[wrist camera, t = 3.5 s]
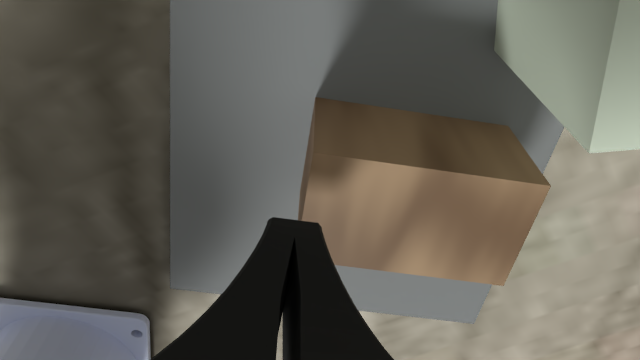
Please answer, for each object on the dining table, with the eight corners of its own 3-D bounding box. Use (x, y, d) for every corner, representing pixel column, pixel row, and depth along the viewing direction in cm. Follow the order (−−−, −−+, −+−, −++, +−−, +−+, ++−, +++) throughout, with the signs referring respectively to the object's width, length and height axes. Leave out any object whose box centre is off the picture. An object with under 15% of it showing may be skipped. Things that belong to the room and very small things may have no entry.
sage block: (619, 37, 16) (787, 136, 10) (494, 50, 17) (589, 153, 11) (648, -102, 14) (878, -79, 8) (504, -86, 15) (630, -52, 9)
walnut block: (299, 191, 20) (474, 215, 20) (294, 260, 16) (504, 285, 17) (315, 97, 18) (509, 125, 18) (313, 152, 14) (552, 186, 15)
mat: (471, 317, 24) (473, 324, 23) (172, 281, 23) (170, 288, 22) (635, -46, 15) (642, -44, 15) (173, -129, 14) (169, -130, 14)
